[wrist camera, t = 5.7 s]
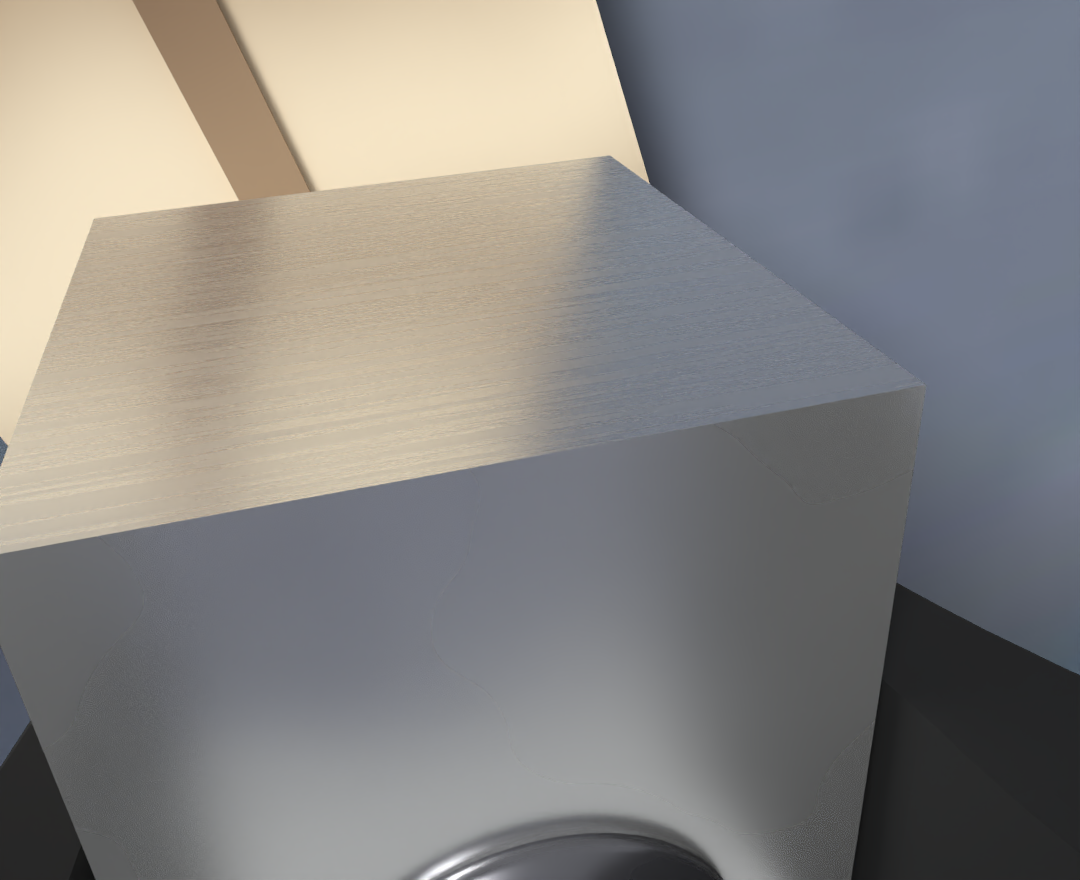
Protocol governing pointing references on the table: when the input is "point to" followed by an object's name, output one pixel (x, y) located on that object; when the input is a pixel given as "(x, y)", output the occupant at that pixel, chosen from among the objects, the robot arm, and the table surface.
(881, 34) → the table surface
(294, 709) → the housing
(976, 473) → the table surface
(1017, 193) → the table surface
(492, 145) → the stand
